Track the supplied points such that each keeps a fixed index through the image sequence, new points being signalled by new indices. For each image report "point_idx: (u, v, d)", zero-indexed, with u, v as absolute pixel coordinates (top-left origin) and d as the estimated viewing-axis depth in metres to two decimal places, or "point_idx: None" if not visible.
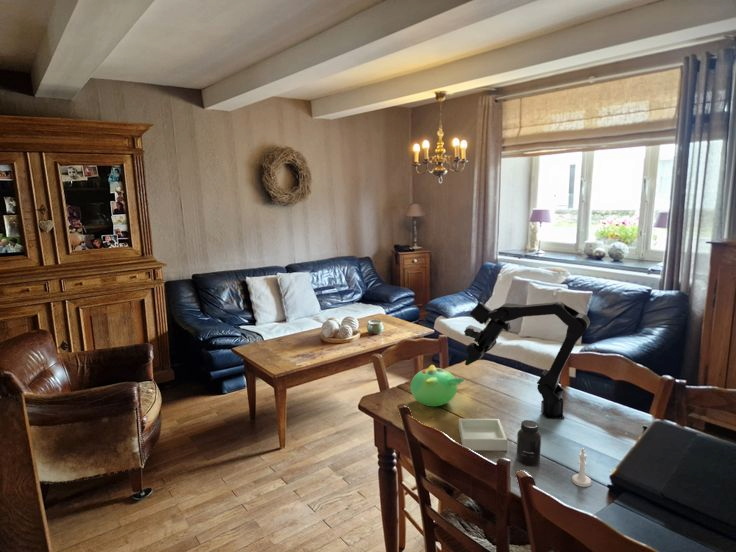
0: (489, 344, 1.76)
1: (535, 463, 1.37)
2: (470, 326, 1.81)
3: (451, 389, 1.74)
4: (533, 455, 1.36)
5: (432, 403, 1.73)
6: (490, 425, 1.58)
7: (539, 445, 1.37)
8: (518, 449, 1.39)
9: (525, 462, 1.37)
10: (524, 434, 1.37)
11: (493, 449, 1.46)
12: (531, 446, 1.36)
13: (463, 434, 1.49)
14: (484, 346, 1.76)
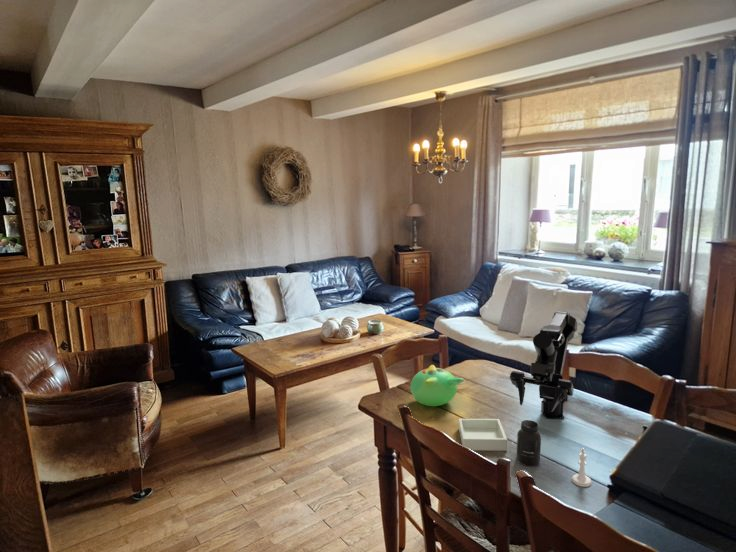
0: None
1: (535, 463, 1.37)
2: (536, 363, 1.45)
3: (451, 389, 1.74)
4: (533, 455, 1.36)
5: (432, 403, 1.73)
6: (490, 425, 1.58)
7: (539, 445, 1.37)
8: (518, 449, 1.39)
9: (525, 462, 1.37)
10: (524, 434, 1.37)
11: (493, 449, 1.46)
12: (531, 446, 1.36)
13: (463, 434, 1.49)
14: None
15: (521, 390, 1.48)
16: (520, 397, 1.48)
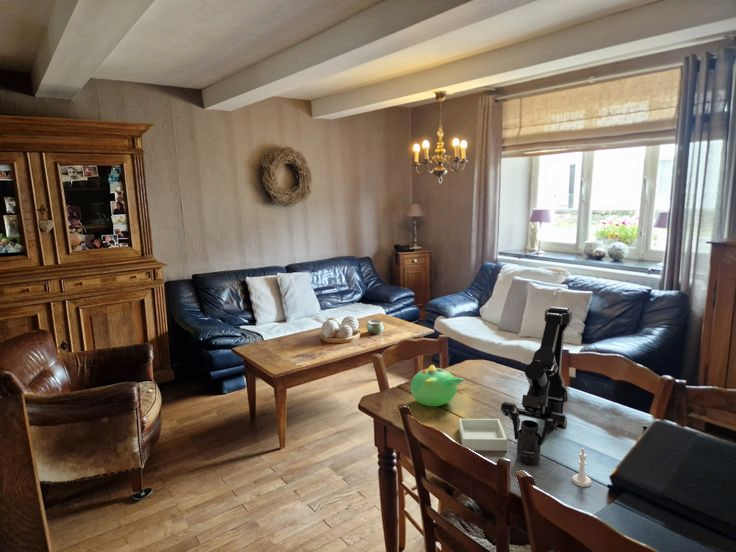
0: None
1: (535, 463, 1.37)
2: (528, 395, 1.38)
3: (451, 389, 1.74)
4: (533, 455, 1.36)
5: (432, 403, 1.73)
6: (490, 425, 1.58)
7: (539, 445, 1.37)
8: (518, 449, 1.39)
9: (525, 462, 1.37)
10: (524, 434, 1.37)
11: (493, 449, 1.46)
12: (531, 446, 1.36)
13: (463, 434, 1.49)
14: None
15: (516, 423, 1.41)
16: (515, 431, 1.40)
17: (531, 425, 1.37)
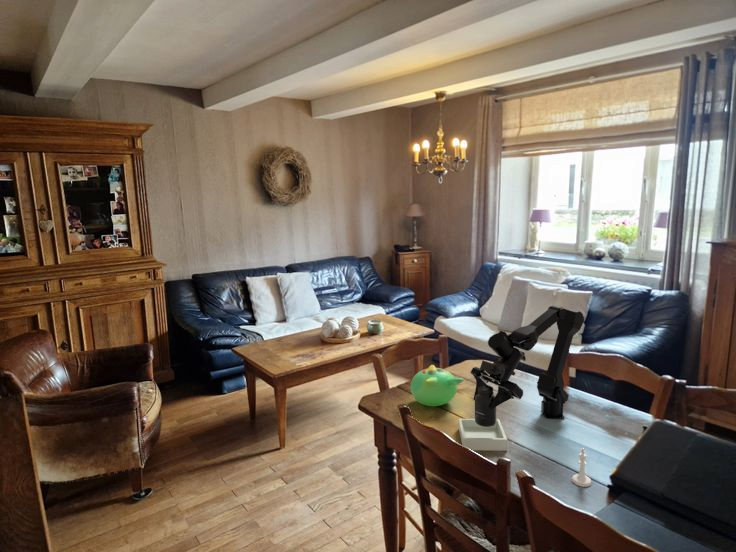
0: None
1: (486, 424, 1.47)
2: (486, 361, 1.48)
3: (451, 389, 1.74)
4: (484, 417, 1.47)
5: (432, 403, 1.73)
6: None
7: None
8: None
9: (477, 422, 1.49)
10: (478, 396, 1.49)
11: (493, 449, 1.46)
12: (482, 407, 1.47)
13: (463, 434, 1.49)
14: None
15: None
16: (475, 393, 1.52)
17: (485, 389, 1.48)
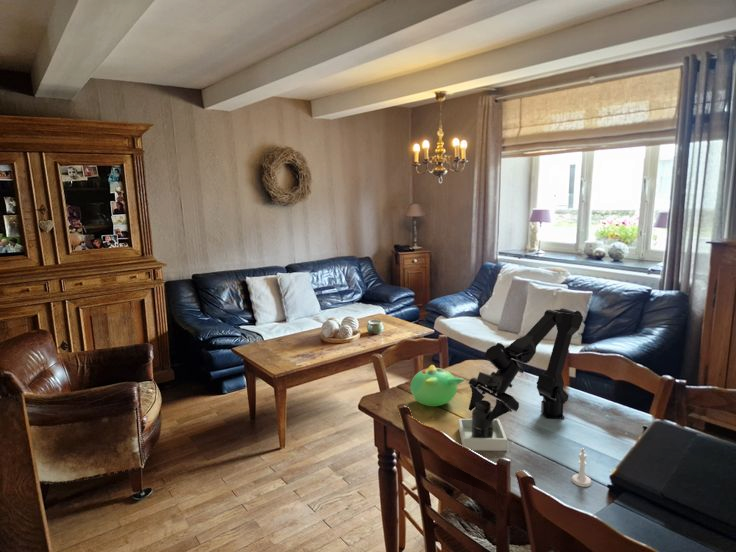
0: None
1: None
2: (483, 373, 1.51)
3: (451, 389, 1.74)
4: (480, 432, 1.49)
5: (432, 403, 1.73)
6: None
7: (487, 424, 1.49)
8: None
9: (474, 436, 1.51)
10: (475, 411, 1.51)
11: (493, 449, 1.46)
12: (478, 422, 1.49)
13: (463, 434, 1.49)
14: None
15: (473, 397, 1.56)
16: (470, 403, 1.55)
17: (482, 404, 1.50)
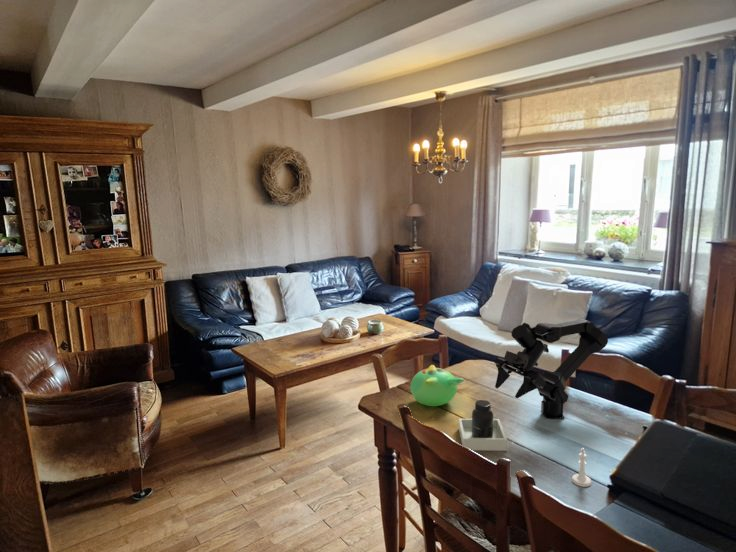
0: None
1: None
2: (510, 352, 1.56)
3: (451, 389, 1.74)
4: (480, 431, 1.49)
5: (432, 403, 1.73)
6: None
7: (487, 424, 1.49)
8: None
9: (474, 436, 1.51)
10: (475, 411, 1.51)
11: (493, 449, 1.46)
12: (478, 422, 1.49)
13: (463, 434, 1.49)
14: None
15: (499, 375, 1.61)
16: (497, 381, 1.61)
17: (482, 404, 1.50)
